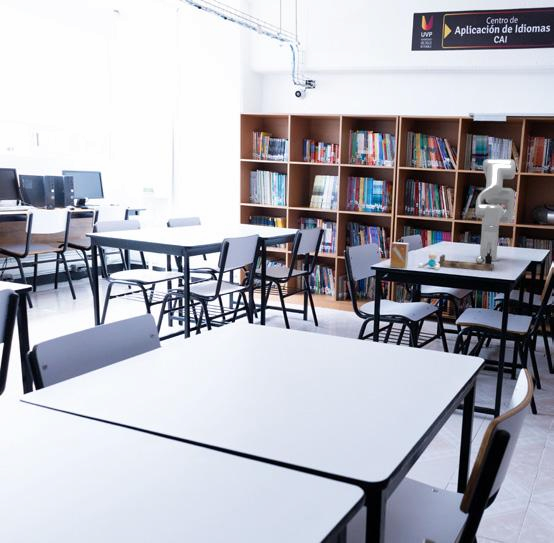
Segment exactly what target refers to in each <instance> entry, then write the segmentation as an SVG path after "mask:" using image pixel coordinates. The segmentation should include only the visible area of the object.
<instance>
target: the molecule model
mask: <svg viewBox="0 0 554 543" xmlns="http://www.w3.org/2000/svg"><path fill="white" fill-rule="evenodd" d="M428 258H429V260H428V261H427V262H426V263H422V262H419V263H418V265H417V267H418V268H420V269H422V268H424V267H426V266H429V267H430V268H434V270H435V271H439V270H440V269H441V267H440V264H439V263H438V262H436V259H437V253H435V252H430V253H429V254H428Z"/></svg>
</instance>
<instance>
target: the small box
mask: <svg viewBox="0 0 554 543" xmlns="http://www.w3.org/2000/svg"><path fill="white" fill-rule="evenodd" d="M409 247H410V242H398V241H393V242H392V243H391V248H390V263H389V264H390V265H389V268H393V267H395V269H402V268H405V269H407V268H408V263H409V262H408V261H409V251H410V250H409Z"/></svg>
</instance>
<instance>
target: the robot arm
mask: <svg viewBox="0 0 554 543" xmlns="http://www.w3.org/2000/svg"><path fill="white" fill-rule="evenodd" d="M516 168H517V167H516V161H515V160H514V159H511V158H509V159H508V158H486V159H484V160H483V162H482V169H483V172H484V175H485V179H486V183H485V188H484V189H482V191H481V192H480V193H479V194H478V195H477V198H476V201H475V202H476V203H475V210H474V211H475V216H476V217H477V218H478V219H481V234H480V246H479V256H482V257H483V258H484V263H485V264H493V263H492V262H495V261H497V262H498V261H500V258H499V257H497V255H498V246H499V245H498V243H499V242H498V241H499V228H500V224H509V223H512V222H513V218H514V208H515V191H514V189H512V188H511V187H503V183H504V180H513V179H514V178H515V175H516ZM484 200H485V202H486V203H487V204H486V203H482V202H483V201H484ZM502 205H504V206H502Z"/></svg>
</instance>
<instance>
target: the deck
mask: <svg viewBox="0 0 554 543" xmlns="http://www.w3.org/2000/svg"><path fill="white" fill-rule="evenodd" d="M445 258H446V254H441V255H440V256H439V261H438V262H437V263H439V264H440V268H450V269H451V268H452V269H460V268H461V270H472V271H484V270H485V272H493V271H494V269H495V268H494V267H495V263H491V264H485V262H483V263H482V264H477V263H476V262H475V261H474V262H473V261H472V262H470V261H462V260H461V261H459V260H447V259H445ZM492 270H493V271H492Z"/></svg>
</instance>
